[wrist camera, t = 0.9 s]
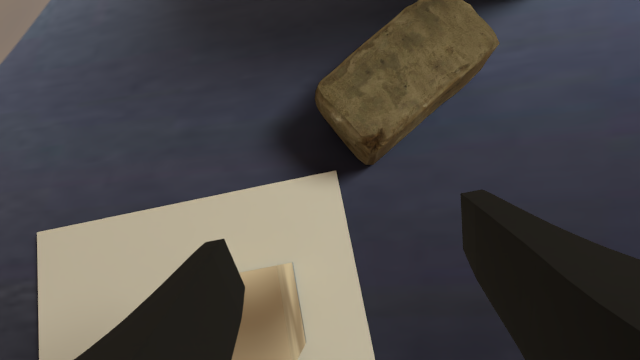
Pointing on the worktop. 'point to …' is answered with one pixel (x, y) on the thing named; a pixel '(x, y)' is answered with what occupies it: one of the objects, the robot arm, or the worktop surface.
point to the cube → (270, 316)
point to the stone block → (404, 74)
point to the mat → (182, 241)
